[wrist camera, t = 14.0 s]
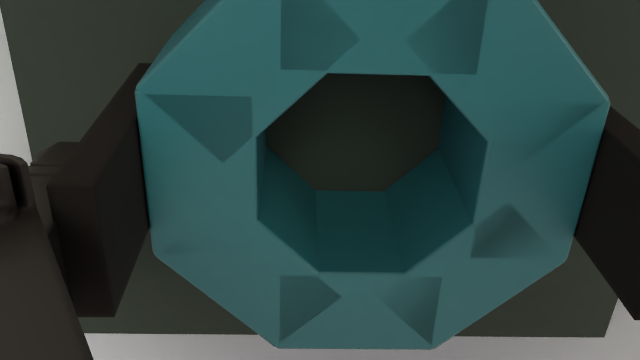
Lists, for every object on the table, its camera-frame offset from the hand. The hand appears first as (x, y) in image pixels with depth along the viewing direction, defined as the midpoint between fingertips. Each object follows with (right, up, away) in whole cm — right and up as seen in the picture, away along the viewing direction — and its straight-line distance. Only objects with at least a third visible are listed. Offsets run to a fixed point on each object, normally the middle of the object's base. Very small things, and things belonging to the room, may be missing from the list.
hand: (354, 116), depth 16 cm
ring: (0, 0, 0) cm, 0 cm away
